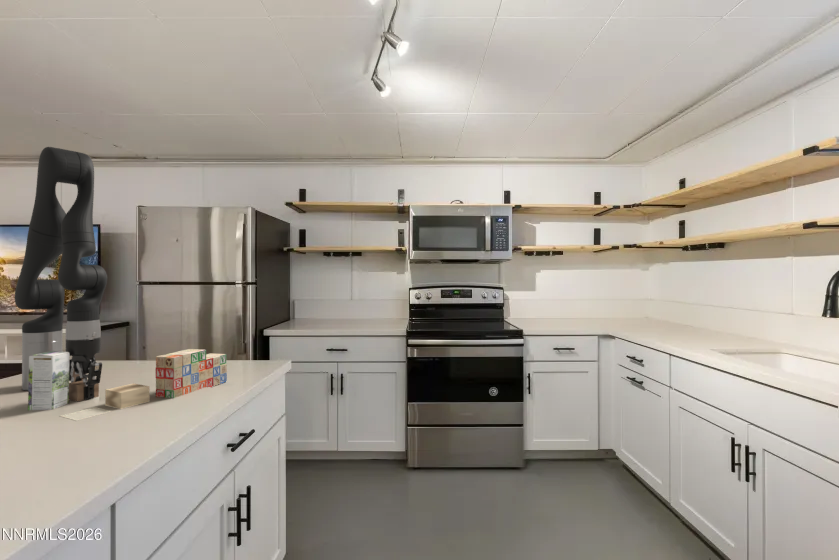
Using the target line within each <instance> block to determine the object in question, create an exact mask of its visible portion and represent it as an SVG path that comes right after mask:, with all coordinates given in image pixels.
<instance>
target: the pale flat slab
mask: <svg viewBox="0 0 839 560" xmlns="http://www.w3.org/2000/svg"><path fill="white" fill-rule="evenodd" d="M149 402H151V400H149V401H148V402H144V403H141V404H137V405H142V404H145V403H149ZM137 405H133V406H129V407H125V408H122V409H121V408H117V407H112V406H108V405H105V404H104V406H105V407H110V408H114V409H119V410H123V409H126V408H131V407H135V406H137ZM112 412H113V410H109V409H104V408H101V407H96V406H93V407H89V408H86V409H83V410H78V411H74V412H69V413H66V414H61V415H60V417H61V418H65V419H68V420H71V421H75V422H77V421H81V420H85V419H89V418H93V417H97V416H100V415H105V414H108V413H112Z"/></svg>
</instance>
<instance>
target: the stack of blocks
mask: <svg viewBox="0 0 839 560" xmlns="http://www.w3.org/2000/svg"><path fill="white" fill-rule="evenodd" d="M227 366H228V363H227V353H211V352H210V353H207V349H197V348H196V349H195V348H188V349H187V348H186V349H182V350H179V351H175V352H174V351H173V352H171V353H167V354H162V355H157V356H155V397H156V398H157V397H158V398H167V399H176V398H178V397H181V396H184V395H187V394H190V393H194V392H196V391H199V390H202V389H204V388H208V387H211V388H213V387H212V386H214V387H216V386H219V385H222V384H225V383H226V381H227V380H228V379H227V378H228V377H227V373H228V371H227V370H228V368H227ZM224 382H225V383H224ZM227 382H228V381H227ZM221 383H222V384H221ZM218 384H219V385H218ZM215 385H216V386H215Z"/></svg>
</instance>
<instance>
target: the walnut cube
mask: <svg viewBox="0 0 839 560" xmlns="http://www.w3.org/2000/svg"><path fill="white" fill-rule="evenodd" d="M87 381H88V379H87ZM99 389H100V383H98V384H96V385H94V398H93V399H95V398H99V397H100V390H99ZM69 401H74V402H80V401H85V400H84V384H83V381H78V382H72V383H71V382H69Z"/></svg>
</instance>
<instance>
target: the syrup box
mask: <svg viewBox="0 0 839 560" xmlns="http://www.w3.org/2000/svg"><path fill="white" fill-rule="evenodd" d="M70 357H71V356H70V353H69V352H66V351H64V350H63V351H50V352H45V353H40V354H36V355H31V356H29V384H28V390H27V391H28V393H27V394H28V397H27V411H48V410H49V411H50V410H54V409H57V408H60V407H62V406H65V405H68V404H69V401H70V399H69V383H70V381H69V359H71V358H70Z"/></svg>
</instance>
